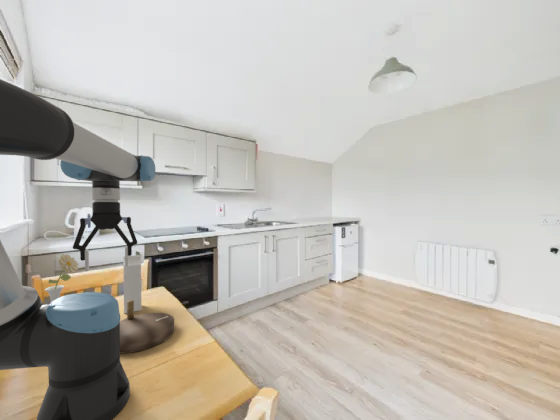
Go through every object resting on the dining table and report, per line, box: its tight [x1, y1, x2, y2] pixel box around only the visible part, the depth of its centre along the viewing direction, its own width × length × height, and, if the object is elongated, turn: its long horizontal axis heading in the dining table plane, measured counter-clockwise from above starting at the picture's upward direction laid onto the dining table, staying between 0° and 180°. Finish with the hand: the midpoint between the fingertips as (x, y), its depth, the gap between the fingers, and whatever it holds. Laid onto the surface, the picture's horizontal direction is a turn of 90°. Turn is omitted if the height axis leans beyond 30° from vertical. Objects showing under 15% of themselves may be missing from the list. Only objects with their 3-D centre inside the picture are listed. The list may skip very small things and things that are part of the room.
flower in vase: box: [44, 253, 79, 303], centre depth 86 cm, size 13×11×25 cm
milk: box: [123, 254, 142, 314], centre depth 99 cm, size 6×6×22 cm
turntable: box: [120, 300, 175, 354], centre depth 80 cm, size 20×20×9 cm
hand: (107, 267), depth 81 cm, fingers open, 10 cm apart
